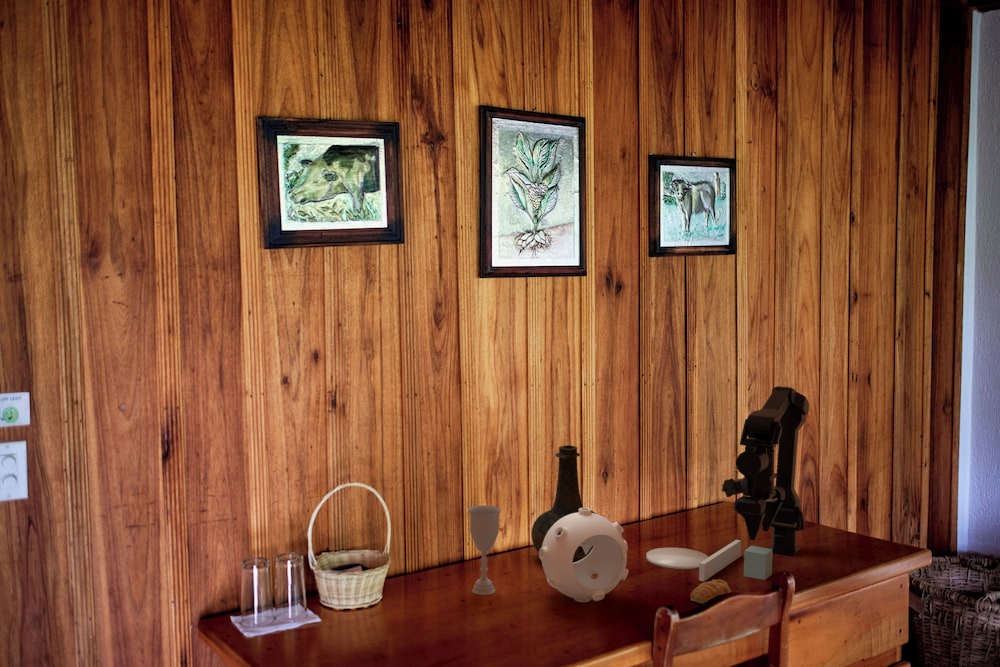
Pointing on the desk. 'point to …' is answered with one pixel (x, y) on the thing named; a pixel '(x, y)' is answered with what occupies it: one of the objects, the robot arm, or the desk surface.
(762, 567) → the block
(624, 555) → the decorative ball
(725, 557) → the panel
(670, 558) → the plate
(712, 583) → the pastry
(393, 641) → the desk surface
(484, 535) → the chalice
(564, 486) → the glass bottle
